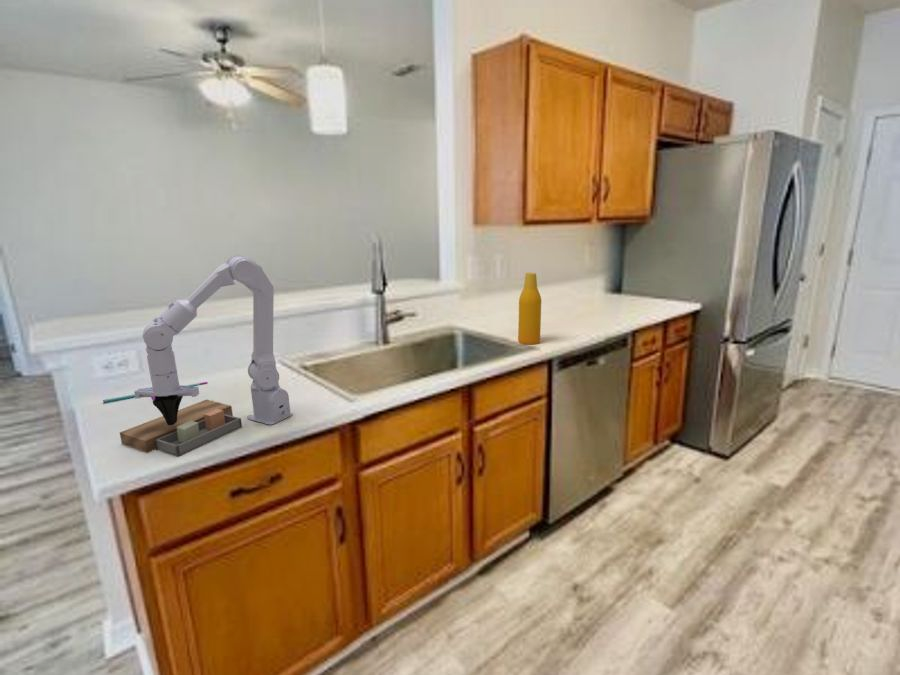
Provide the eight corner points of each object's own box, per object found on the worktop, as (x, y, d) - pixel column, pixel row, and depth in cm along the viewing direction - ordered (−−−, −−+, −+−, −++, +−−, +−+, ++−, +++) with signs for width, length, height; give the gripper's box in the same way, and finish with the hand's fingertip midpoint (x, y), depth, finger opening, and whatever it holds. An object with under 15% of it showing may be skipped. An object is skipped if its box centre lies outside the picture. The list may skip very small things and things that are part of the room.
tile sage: (192, 434, 125) (199, 437, 124) (178, 441, 121) (185, 444, 120) (191, 420, 124) (198, 422, 123) (176, 426, 120) (183, 429, 119)
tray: (241, 427, 130) (240, 418, 130) (178, 456, 115) (176, 446, 114) (221, 421, 134) (219, 412, 134) (156, 449, 119) (154, 439, 118)
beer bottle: (543, 340, 210) (545, 272, 203) (535, 346, 202) (537, 275, 195) (523, 338, 215) (524, 271, 207) (514, 343, 207) (515, 274, 200)
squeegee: (104, 409, 141) (102, 399, 148) (105, 414, 141) (103, 404, 149) (213, 389, 157) (206, 380, 165) (213, 394, 157) (207, 385, 165)
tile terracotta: (219, 422, 132) (225, 424, 131) (205, 428, 129) (212, 430, 128) (217, 408, 131) (223, 410, 130) (203, 414, 128) (210, 415, 127)
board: (232, 415, 138) (231, 405, 137) (147, 452, 117) (145, 441, 117) (207, 409, 143) (206, 399, 142) (121, 443, 122) (119, 432, 121)
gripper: (201, 366, 125) (208, 415, 128) (142, 367, 124) (151, 417, 128) (188, 375, 118) (196, 427, 121) (125, 376, 117) (135, 429, 121)
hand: (172, 423), depth 124 cm, fingers closed
